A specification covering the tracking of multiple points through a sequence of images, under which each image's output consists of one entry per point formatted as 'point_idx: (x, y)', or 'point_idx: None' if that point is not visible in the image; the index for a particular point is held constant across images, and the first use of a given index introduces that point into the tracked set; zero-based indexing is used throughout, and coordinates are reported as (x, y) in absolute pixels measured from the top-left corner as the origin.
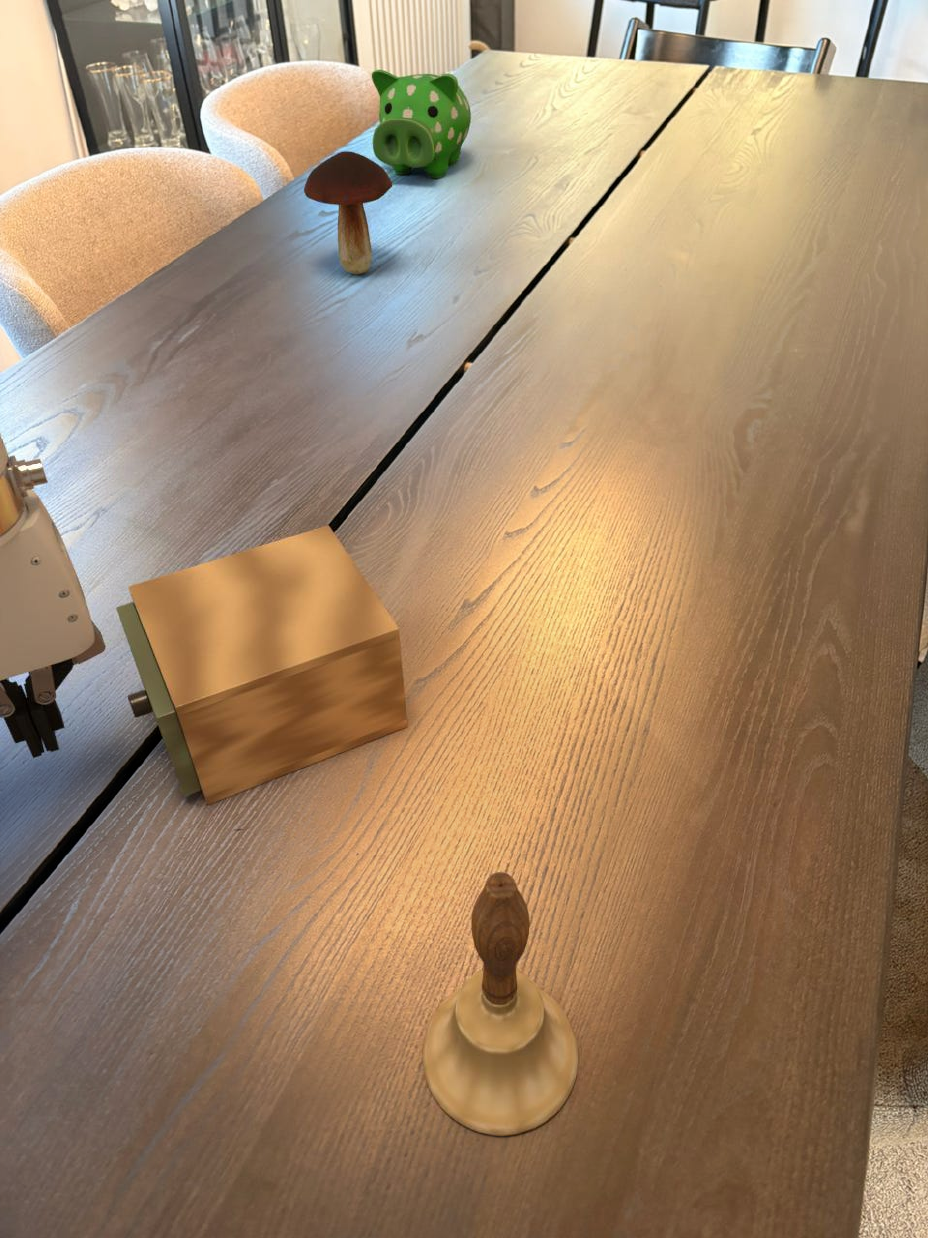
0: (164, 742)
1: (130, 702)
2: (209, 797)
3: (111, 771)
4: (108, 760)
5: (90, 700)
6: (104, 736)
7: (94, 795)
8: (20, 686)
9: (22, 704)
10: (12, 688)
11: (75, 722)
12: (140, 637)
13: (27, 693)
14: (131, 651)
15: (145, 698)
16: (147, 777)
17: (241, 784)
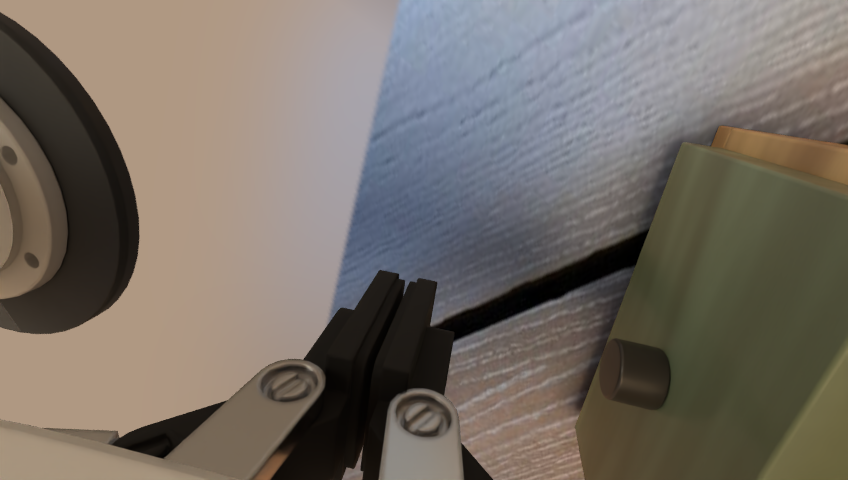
0: (608, 476)
1: (613, 396)
2: None
3: (507, 278)
4: (514, 253)
5: (559, 72)
6: (535, 194)
7: (463, 304)
8: (359, 380)
9: (348, 440)
10: (321, 448)
11: (504, 119)
12: (835, 464)
13: (371, 414)
14: (745, 236)
15: (651, 406)
16: (550, 327)
17: None
